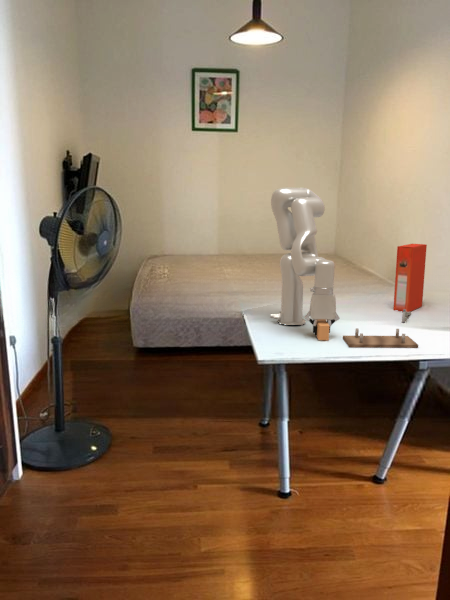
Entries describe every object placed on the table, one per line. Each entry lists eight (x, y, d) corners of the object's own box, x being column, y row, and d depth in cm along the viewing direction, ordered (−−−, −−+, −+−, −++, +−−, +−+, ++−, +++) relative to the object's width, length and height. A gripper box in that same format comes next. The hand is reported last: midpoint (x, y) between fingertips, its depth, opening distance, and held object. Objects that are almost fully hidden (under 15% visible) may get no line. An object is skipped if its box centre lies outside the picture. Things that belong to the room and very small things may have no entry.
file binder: (392, 310, 251) (397, 246, 244) (406, 304, 264) (411, 243, 257) (408, 312, 246) (413, 247, 239) (422, 306, 258) (427, 244, 251)
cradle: (349, 347, 191) (349, 335, 190) (342, 338, 203) (343, 327, 202) (418, 347, 190) (419, 335, 189) (407, 338, 202) (408, 327, 201)
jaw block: (318, 340, 199) (319, 325, 198) (314, 331, 211) (314, 317, 210) (328, 340, 199) (329, 325, 198) (323, 331, 211) (324, 317, 210)
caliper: (404, 323, 226) (405, 310, 225) (401, 323, 227) (402, 309, 226) (411, 314, 244) (412, 301, 243) (409, 313, 244) (410, 301, 243)
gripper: (303, 292, 197) (301, 337, 202) (346, 293, 197) (343, 337, 201) (301, 288, 205) (299, 331, 209) (342, 289, 204) (339, 332, 209)
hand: (321, 334), depth 205 cm, fingers closed on jaw block, 4 cm apart
